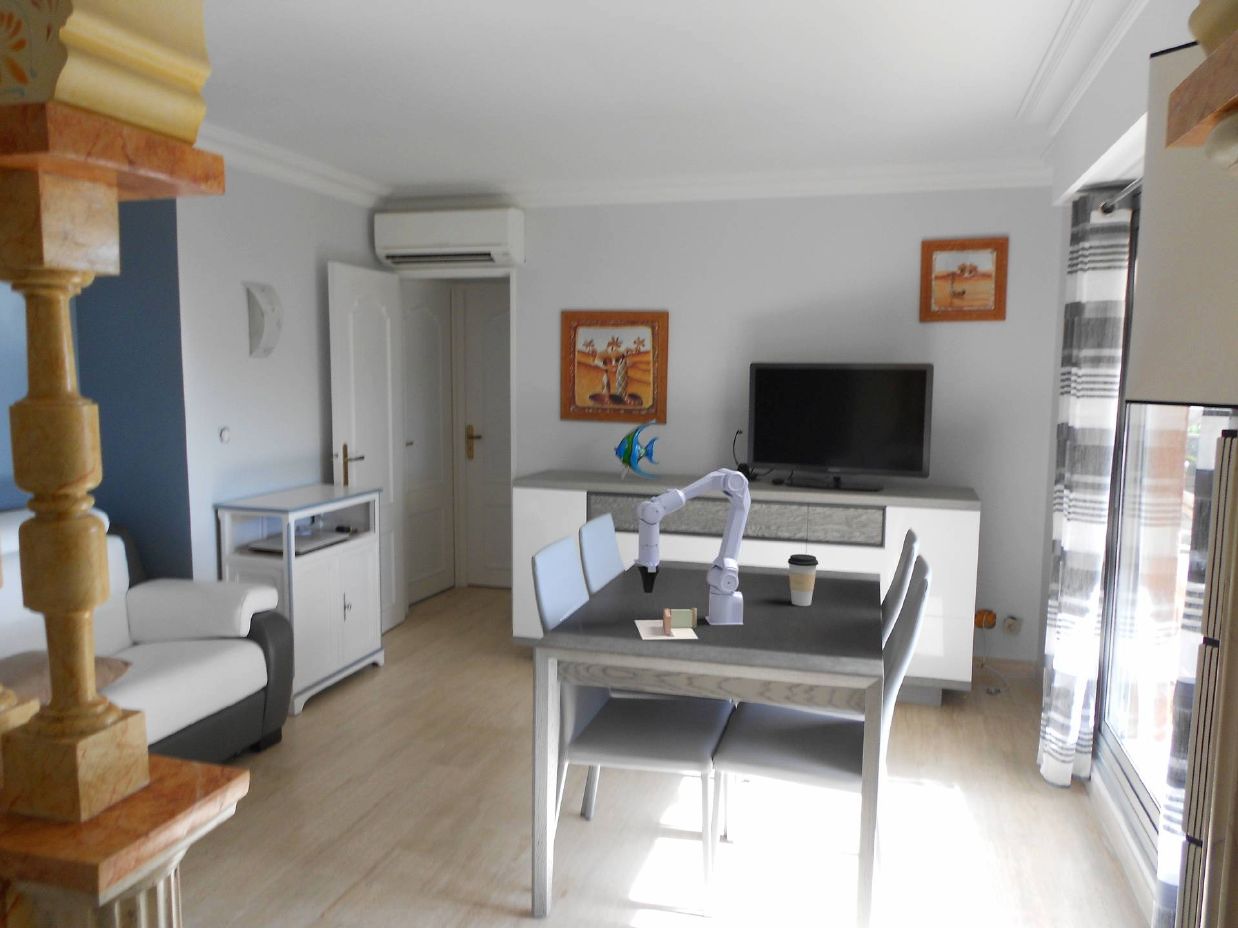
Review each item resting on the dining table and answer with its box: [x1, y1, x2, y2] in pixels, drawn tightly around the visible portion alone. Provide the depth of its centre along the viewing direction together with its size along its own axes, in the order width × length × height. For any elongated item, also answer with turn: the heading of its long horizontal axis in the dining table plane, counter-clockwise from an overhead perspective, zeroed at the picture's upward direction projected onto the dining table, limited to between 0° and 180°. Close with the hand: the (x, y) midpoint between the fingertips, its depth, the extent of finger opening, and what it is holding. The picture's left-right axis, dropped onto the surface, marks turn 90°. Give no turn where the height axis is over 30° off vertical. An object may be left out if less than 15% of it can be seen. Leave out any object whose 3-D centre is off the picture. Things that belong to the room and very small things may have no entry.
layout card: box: [634, 619, 699, 641], centre depth 244 cm, size 15×19×1 cm
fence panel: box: [662, 607, 671, 635], centre depth 242 cm, size 9×2×5 cm, turn 1°
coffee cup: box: [787, 553, 819, 607], centre depth 275 cm, size 9×9×15 cm
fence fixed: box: [669, 607, 698, 629], centre depth 246 cm, size 7×2×5 cm, turn 96°
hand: (648, 592), depth 246 cm, fingers closed
